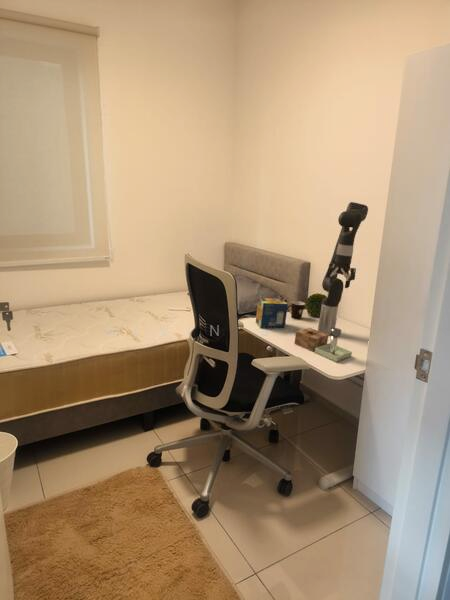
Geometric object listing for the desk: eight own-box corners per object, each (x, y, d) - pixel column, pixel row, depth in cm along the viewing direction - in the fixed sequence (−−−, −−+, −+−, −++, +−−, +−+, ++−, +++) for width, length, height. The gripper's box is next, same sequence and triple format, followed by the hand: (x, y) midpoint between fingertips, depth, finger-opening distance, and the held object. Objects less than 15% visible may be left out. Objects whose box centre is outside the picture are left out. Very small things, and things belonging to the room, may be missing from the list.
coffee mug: (301, 316, 256) (303, 301, 253) (304, 320, 247) (306, 305, 245) (283, 314, 255) (285, 300, 252) (286, 319, 247) (288, 304, 244)
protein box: (255, 322, 236) (257, 297, 231) (279, 322, 239) (282, 298, 235) (260, 328, 226) (263, 302, 222) (285, 328, 229) (288, 303, 225)
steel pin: (324, 352, 196) (328, 328, 192) (330, 351, 199) (335, 327, 195) (332, 356, 192) (337, 331, 189) (338, 354, 195) (343, 330, 192)
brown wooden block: (308, 339, 214) (310, 327, 212) (326, 347, 206) (328, 334, 204) (294, 343, 206) (296, 331, 205) (312, 351, 198) (314, 339, 196)
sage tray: (329, 347, 205) (330, 343, 204) (351, 356, 196) (352, 351, 195) (314, 353, 197) (315, 347, 196) (336, 362, 187) (337, 357, 186)
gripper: (327, 251, 193) (322, 283, 197) (353, 256, 182) (347, 290, 187) (336, 251, 197) (331, 282, 202) (361, 256, 187) (355, 288, 192)
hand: (339, 285), depth 194 cm, fingers open, 8 cm apart
